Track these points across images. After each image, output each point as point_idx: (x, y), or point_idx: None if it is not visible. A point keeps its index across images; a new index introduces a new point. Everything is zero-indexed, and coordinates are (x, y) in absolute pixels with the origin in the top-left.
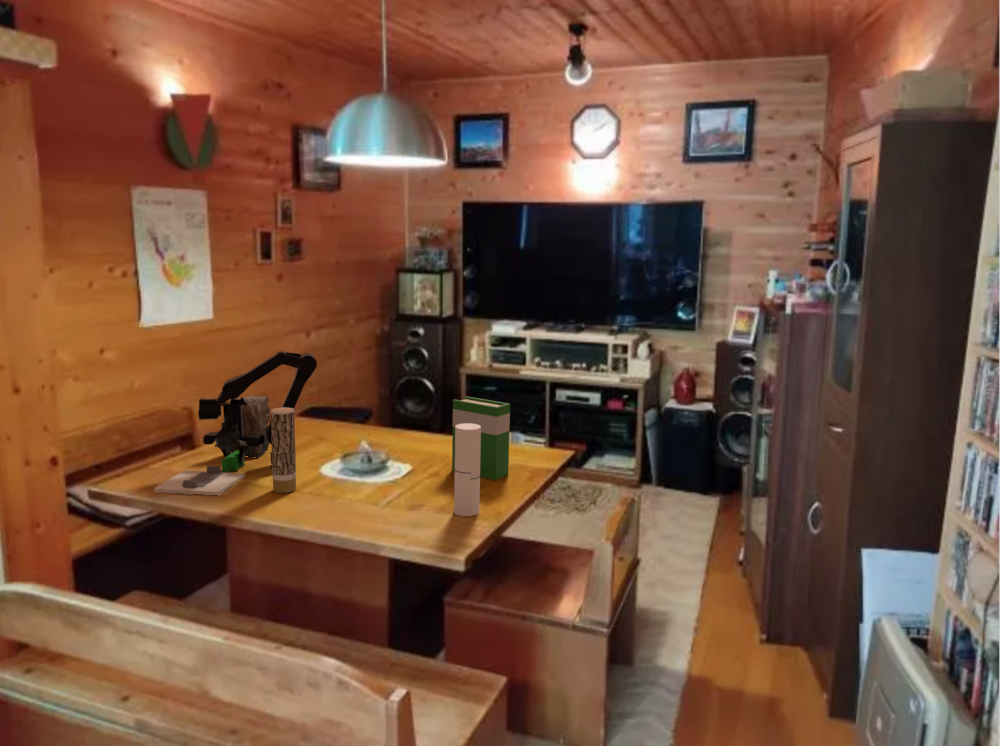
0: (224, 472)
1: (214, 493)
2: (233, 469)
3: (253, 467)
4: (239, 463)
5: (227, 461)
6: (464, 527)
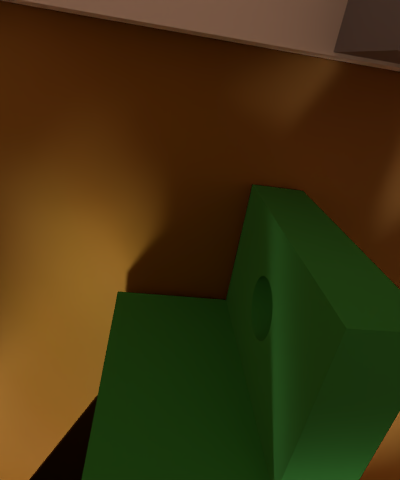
0: (252, 40)
1: None
2: (181, 304)
3: (3, 404)
4: None
5: (273, 375)
6: None
